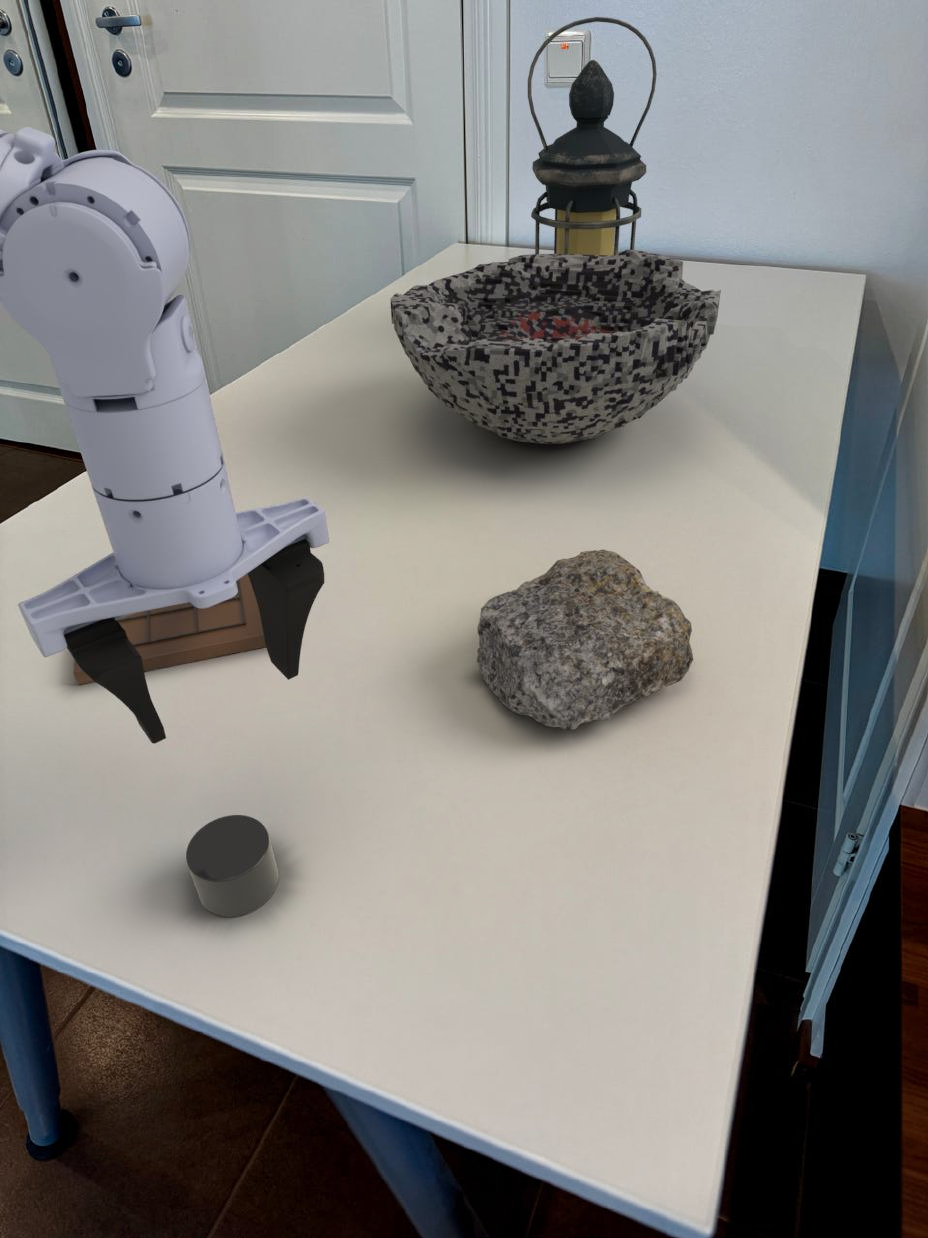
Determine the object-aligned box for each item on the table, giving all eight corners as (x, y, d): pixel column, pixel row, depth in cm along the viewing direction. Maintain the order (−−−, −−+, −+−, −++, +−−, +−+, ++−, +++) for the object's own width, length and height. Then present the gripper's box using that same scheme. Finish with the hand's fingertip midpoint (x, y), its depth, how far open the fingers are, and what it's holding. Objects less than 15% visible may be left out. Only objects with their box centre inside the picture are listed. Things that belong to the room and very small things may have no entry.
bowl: (712, 383, 102) (731, 247, 93) (681, 518, 78) (703, 353, 69) (456, 361, 110) (450, 235, 101) (357, 478, 86) (339, 326, 77)
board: (77, 685, 63) (71, 671, 62) (87, 580, 74) (82, 566, 73) (273, 645, 66) (270, 631, 65) (255, 550, 77) (252, 536, 76)
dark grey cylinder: (200, 927, 47) (187, 890, 45) (196, 862, 50) (184, 825, 48) (283, 905, 48) (273, 868, 46) (274, 843, 51) (264, 806, 49)
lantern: (626, 321, 120) (649, 9, 99) (645, 356, 109) (675, 16, 88) (522, 326, 120) (522, 15, 99) (530, 362, 109) (533, 22, 88)
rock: (545, 766, 55) (720, 683, 61) (551, 690, 51) (738, 609, 57) (444, 655, 64) (606, 592, 70) (442, 583, 60) (615, 522, 66)
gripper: (13, 568, 33) (114, 810, 41) (346, 450, 39) (375, 678, 48) (-33, 497, 37) (66, 728, 45) (273, 403, 44) (311, 618, 52)
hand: (221, 698), depth 47 cm, fingers open, 7 cm apart
